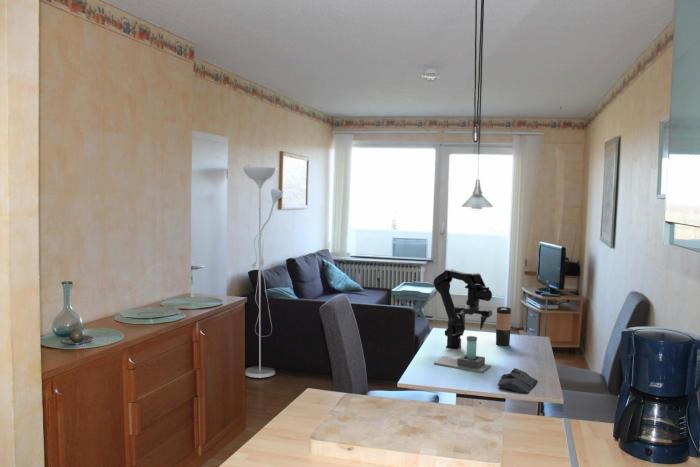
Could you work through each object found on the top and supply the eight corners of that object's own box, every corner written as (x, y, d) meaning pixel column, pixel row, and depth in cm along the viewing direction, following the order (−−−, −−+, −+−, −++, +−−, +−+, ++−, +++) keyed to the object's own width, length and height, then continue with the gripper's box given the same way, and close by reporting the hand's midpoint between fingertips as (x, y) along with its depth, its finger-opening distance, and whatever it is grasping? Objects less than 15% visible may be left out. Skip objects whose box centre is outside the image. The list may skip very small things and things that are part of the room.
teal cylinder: (463, 363, 276) (464, 336, 275) (471, 362, 278) (471, 335, 278) (471, 366, 272) (471, 338, 271) (478, 365, 274) (479, 337, 274)
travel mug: (508, 343, 322) (510, 307, 321) (511, 346, 314) (512, 309, 313) (494, 342, 323) (495, 306, 321) (496, 345, 315) (498, 309, 314)
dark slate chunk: (491, 389, 243) (491, 378, 243) (504, 376, 262) (504, 365, 262) (528, 396, 236) (529, 384, 236) (539, 381, 255) (539, 371, 255)
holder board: (433, 364, 277) (434, 355, 277) (443, 358, 287) (443, 350, 287) (482, 372, 265) (483, 364, 265) (490, 366, 275) (491, 358, 275)
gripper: (450, 298, 295) (449, 328, 296) (486, 302, 285) (484, 333, 286) (458, 295, 304) (457, 324, 305) (493, 299, 295) (491, 329, 296)
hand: (472, 328), depth 298 cm, fingers open, 9 cm apart
